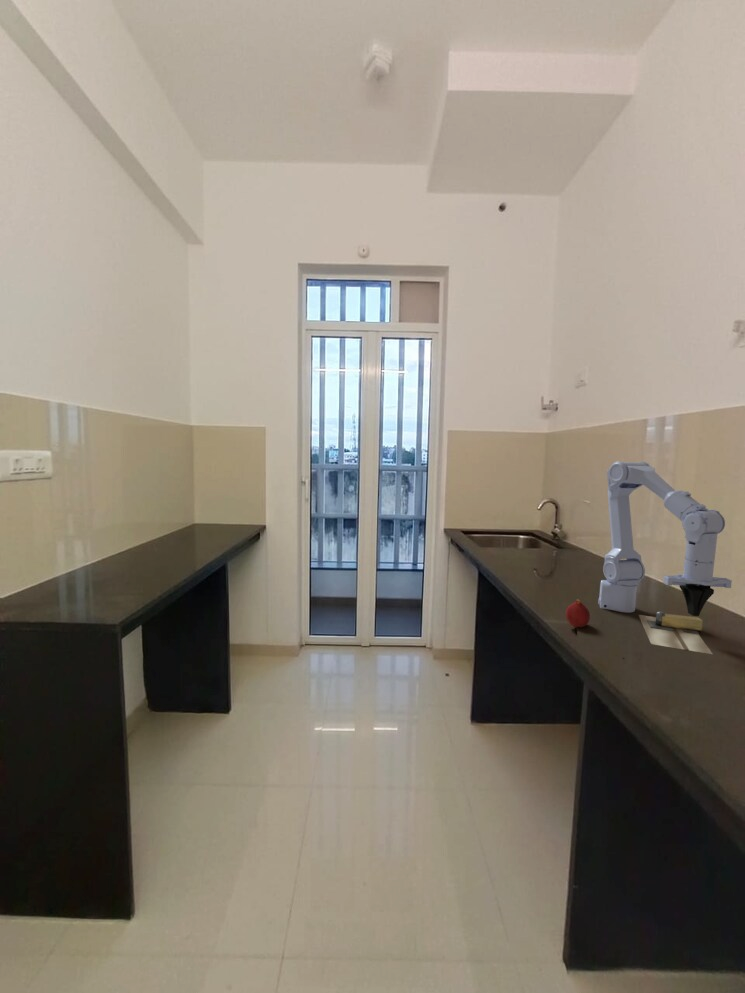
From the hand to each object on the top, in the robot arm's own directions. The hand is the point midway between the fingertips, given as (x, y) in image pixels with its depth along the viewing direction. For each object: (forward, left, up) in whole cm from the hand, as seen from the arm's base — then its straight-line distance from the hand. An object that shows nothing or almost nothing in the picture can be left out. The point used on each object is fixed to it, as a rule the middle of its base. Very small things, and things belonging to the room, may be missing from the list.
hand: (693, 614), depth 106 cm
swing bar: (-1, +7, -6) cm, 9 cm away
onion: (-25, -3, -8) cm, 27 cm away
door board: (-3, +3, -8) cm, 9 cm away
